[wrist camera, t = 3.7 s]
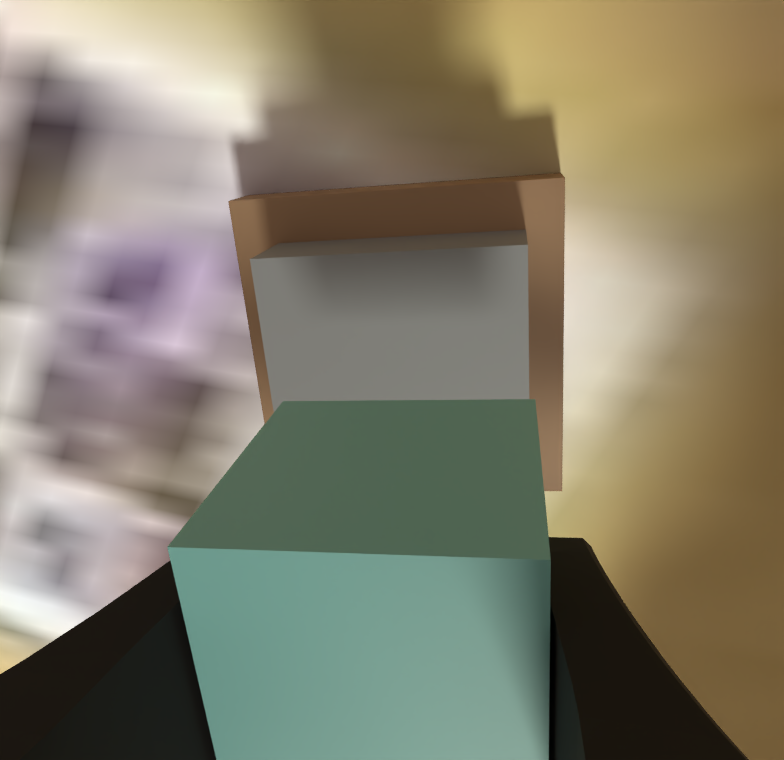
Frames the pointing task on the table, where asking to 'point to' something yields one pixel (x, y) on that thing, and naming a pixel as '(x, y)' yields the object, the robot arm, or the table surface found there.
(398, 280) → the tower mid
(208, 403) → the table surface
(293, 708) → the teal block
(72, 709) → the robot arm
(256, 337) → the tower base
